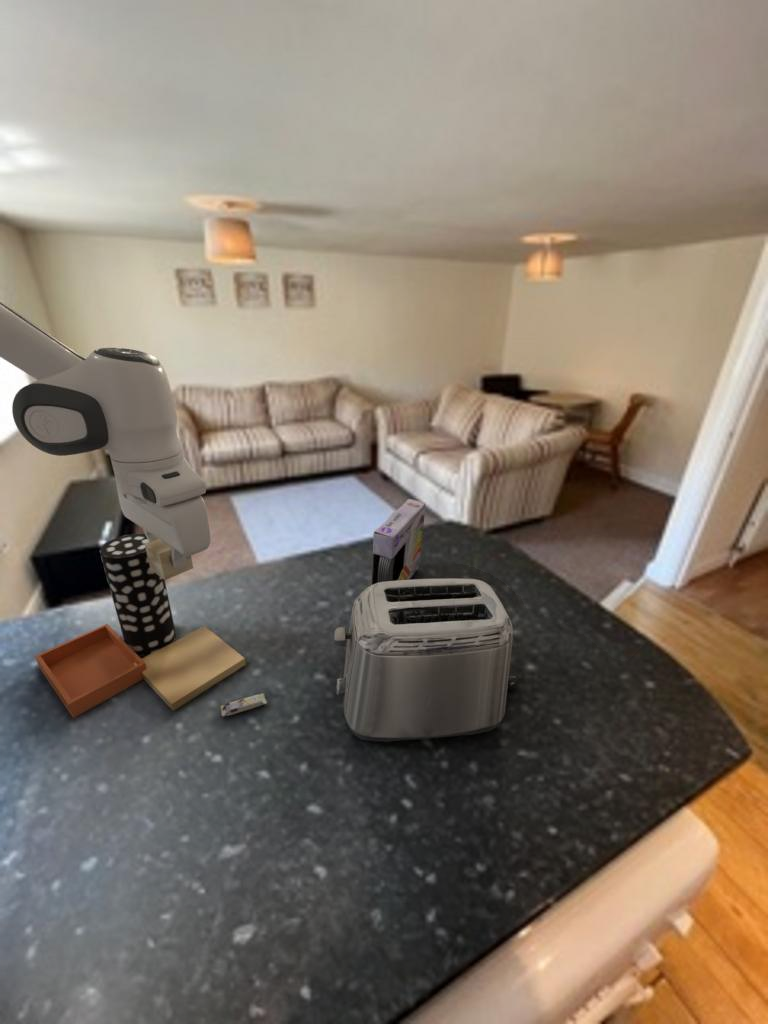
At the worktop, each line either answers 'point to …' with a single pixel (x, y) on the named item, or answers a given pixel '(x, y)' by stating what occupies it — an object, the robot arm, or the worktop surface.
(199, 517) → the robot arm
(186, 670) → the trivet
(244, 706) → the granola bar
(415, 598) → the toaster
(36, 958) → the worktop surface
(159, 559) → the block
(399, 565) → the cake pan box
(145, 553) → the white-spotted black cylinder
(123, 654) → the orange-brown tray
